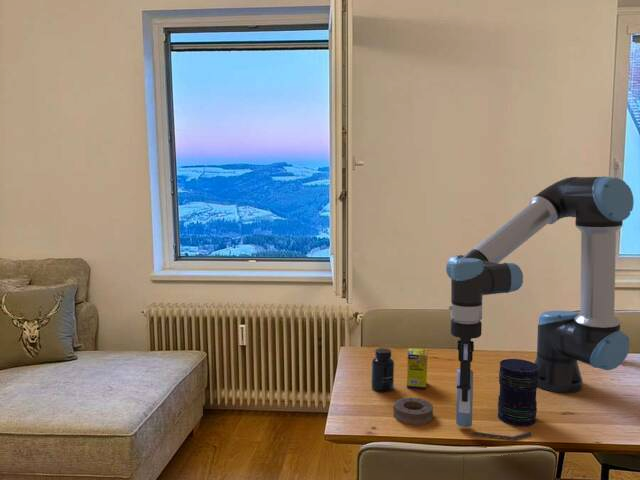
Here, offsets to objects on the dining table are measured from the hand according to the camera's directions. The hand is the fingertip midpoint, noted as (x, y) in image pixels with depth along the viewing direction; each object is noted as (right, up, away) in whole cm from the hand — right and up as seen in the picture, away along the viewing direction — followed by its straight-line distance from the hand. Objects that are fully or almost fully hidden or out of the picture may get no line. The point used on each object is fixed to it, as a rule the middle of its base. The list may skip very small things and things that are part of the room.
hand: (464, 408), depth 136 cm
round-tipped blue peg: (0, -4, +1) cm, 4 cm away
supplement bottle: (-18, -3, +27) cm, 32 cm away
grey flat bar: (+9, -6, -3) cm, 11 cm away
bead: (-12, -5, +8) cm, 15 cm away
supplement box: (-7, -2, +29) cm, 30 cm away
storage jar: (+16, -5, +6) cm, 18 cm away
